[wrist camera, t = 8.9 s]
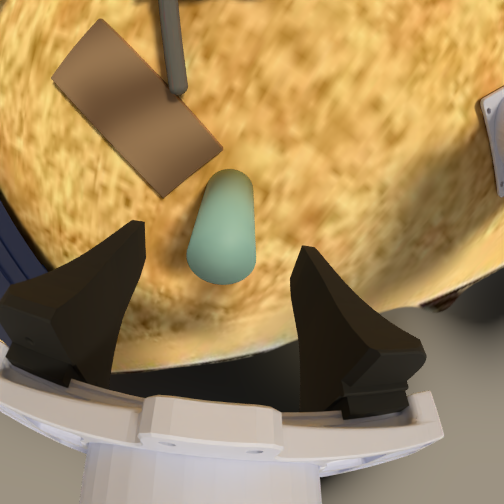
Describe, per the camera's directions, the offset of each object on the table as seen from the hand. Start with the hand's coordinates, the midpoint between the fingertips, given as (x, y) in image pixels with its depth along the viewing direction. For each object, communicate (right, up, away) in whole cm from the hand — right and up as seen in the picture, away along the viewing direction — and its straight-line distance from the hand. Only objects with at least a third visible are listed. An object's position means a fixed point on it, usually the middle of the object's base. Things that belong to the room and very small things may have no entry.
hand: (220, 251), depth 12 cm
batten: (-6, +9, +1) cm, 11 cm away
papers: (-28, -1, +9) cm, 30 cm away
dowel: (0, +4, +5) cm, 6 cm away
